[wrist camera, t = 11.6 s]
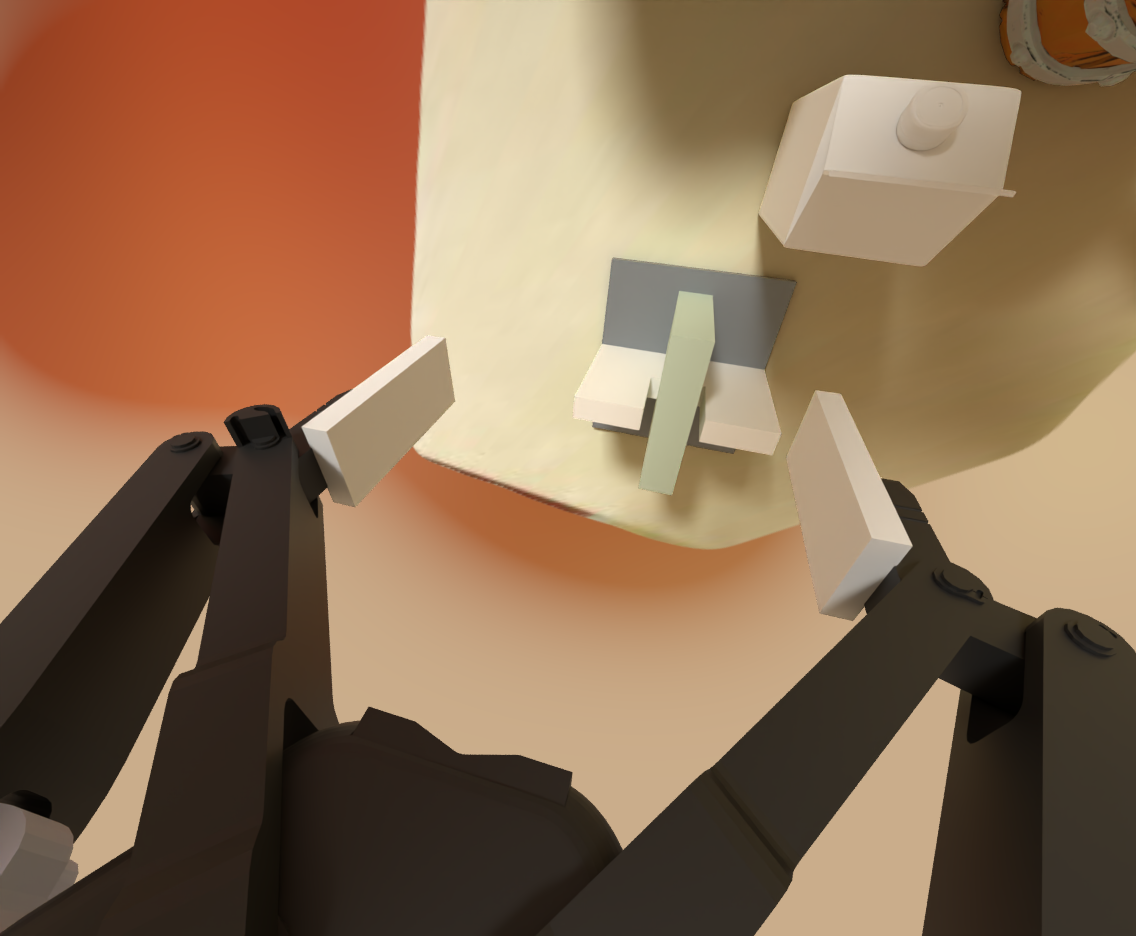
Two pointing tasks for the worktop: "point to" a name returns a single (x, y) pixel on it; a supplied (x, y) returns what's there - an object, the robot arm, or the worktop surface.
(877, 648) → the robot arm
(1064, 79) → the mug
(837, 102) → the milk carton
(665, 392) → the pale green tall block
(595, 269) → the worktop surface
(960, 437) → the worktop surface
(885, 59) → the worktop surface
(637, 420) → the notched wall on base
